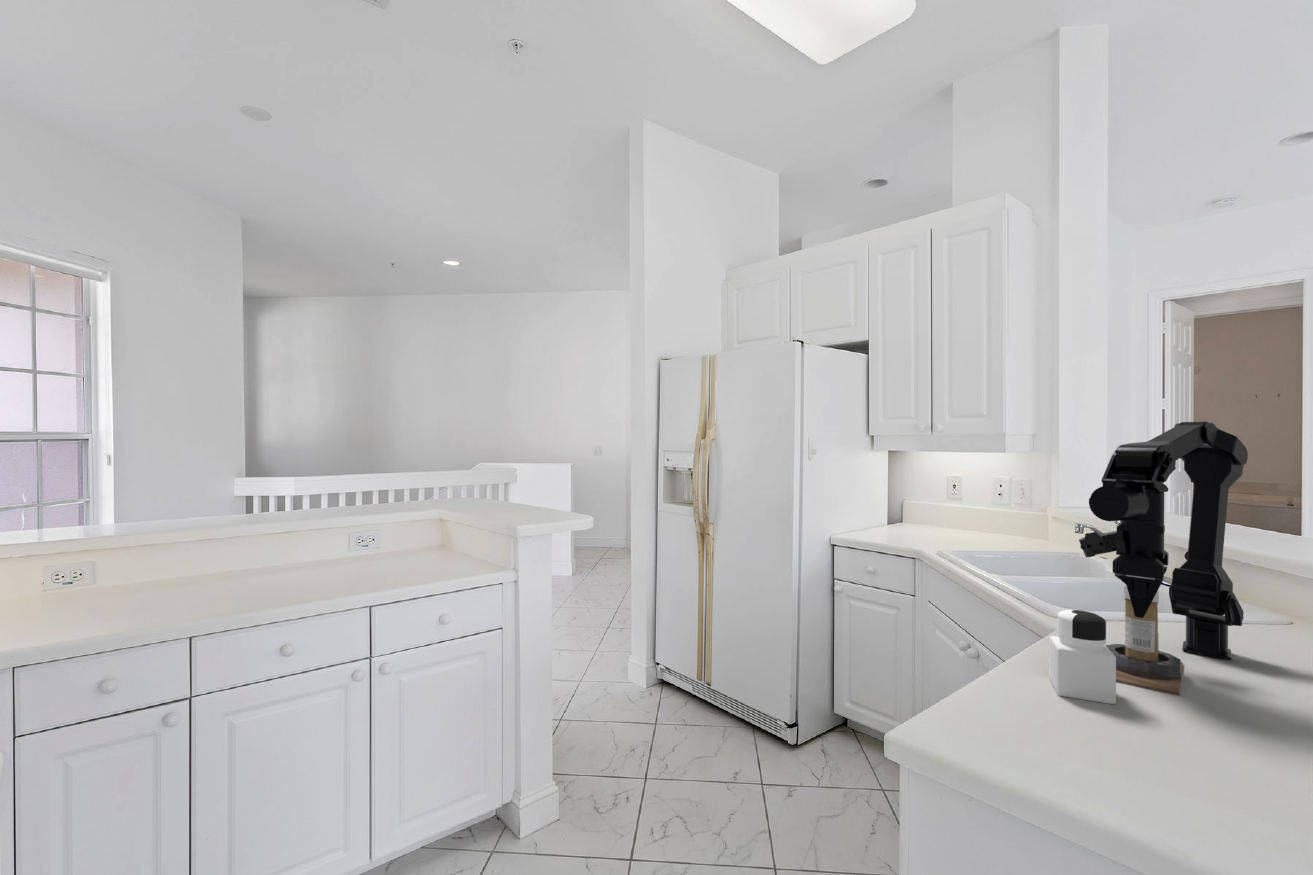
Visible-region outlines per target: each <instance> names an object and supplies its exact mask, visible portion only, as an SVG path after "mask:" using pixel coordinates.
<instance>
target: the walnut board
mask: <svg viewBox="0 0 1313 875" xmlns="http://www.w3.org/2000/svg"><path fill="white" fill-rule="evenodd" d="M1183 667H1184V663H1183V662H1182V661H1181V675H1180V679H1175V680H1158V679H1148V678H1144V677H1139V676H1135V675H1130V674H1127V673H1124V672H1121V671H1118V670H1116V683H1117V682H1118V683H1122V684H1125V685H1130V686H1135V687H1139V688H1142V689H1148V690H1152V691H1156V692H1157V691H1158V692H1161V693H1165V694H1169V695H1173V696H1177V697H1178V696H1180V691H1181V685H1182V684H1181V683H1182V674H1183Z"/></svg>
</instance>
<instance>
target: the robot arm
mask: <svg viewBox="0 0 1313 875" xmlns="http://www.w3.org/2000/svg"><path fill="white" fill-rule="evenodd" d="M1248 458H1249V454H1248V449H1247V447H1246V446H1245V445H1244V443H1243V442H1242V441H1241V440H1240V438H1239V437H1238V436H1236V435H1233V434H1231V433H1228V432H1227V431H1224V430H1221V429H1219V428H1218V427H1217V426H1216V425H1215V423H1213V422H1208V421H1207V420H1206V421H1180V422H1179V423H1176V424H1174V425H1173V427H1172V428H1171V429H1169V430H1167V431H1164V432H1163V433H1160V434H1159V435H1157V436H1155V437H1153V438H1151V439H1150V440H1147V441H1141V442H1140V441H1139V442H1129V443H1125V444H1121V445H1118V446H1117V447H1116V448H1115V450H1114V452H1113V453H1112V454H1111V456H1110V459H1109V462H1108V463H1107V466H1106V469H1105V471H1104V473H1103V476H1102V478H1101V483H1102V486H1099V487H1097V488H1096V489H1095V490H1094V491H1093V492H1092V493H1091V494H1090V497H1089V499H1088V506H1089V509H1090V511H1091V513H1092V514H1093V515H1094V516H1095V517H1097V518H1098V519H1100V520H1102V521H1106V522H1119V523H1118V525H1116V530H1114V531H1110V532H1105V533H1099V532H1098V531H1097V530H1095V531H1093V532H1086V533H1085V534H1084V537H1080V539H1078V542H1079V544H1080V549H1081V550H1082V551H1083V552H1082V553H1084V556H1085V558H1091V557H1092V558H1093V557H1095V556H1098V555H1102V554H1108V553H1113V552H1115V555H1117V557H1115V558H1114V559H1113V560H1112V574H1114V576H1115V578H1117V579H1118V580H1120V581H1121V582H1122V583H1124V584H1125V586H1127V589H1128V592H1129V596H1130V600H1131V604H1132V607H1133V611H1134V615H1135V616H1136V617H1140V618H1143V617H1144V616H1145V614H1146V612H1147V610H1148V608H1149V606H1150V604H1151V602H1152V600H1153V599H1154V597H1155V595H1156V593H1157V591H1158V592H1159V589H1160V587H1161V585H1162V584H1163V581H1164V577H1165V574H1166V572H1167V570H1168V566H1169V552H1168V551H1166V550H1165V532H1166V525H1165V493H1167V492H1169V487H1168V485H1166V484H1164V483H1165V482H1166V483H1167V480H1168V479H1169V476H1170V475H1171V474H1172V473H1173V472H1174V471H1175V470H1176V469H1177V468H1176V464H1177V462H1176V461H1178V460H1179V459H1180V460H1181V461H1183V471H1185V473H1186V475H1187V476H1188V477H1189V479H1190V480H1191V482H1192V483H1193V491H1192V492H1193V493H1192V500H1191V501H1192V504H1191V513H1190V514H1191V515H1190V525H1189V535H1188V545H1187V557H1186V561H1185V562H1184V563H1183V564H1182V565H1180V567H1174V568H1173V571H1172V572H1171V576H1172V577H1171V579H1172V580H1171V583H1170V584H1169V587H1168V595H1169V597H1168V598H1169V600H1170V606H1171V607H1170V608H1171V611H1172V614H1173V615H1179V616H1184V617H1185V640H1184V641H1183V642H1182V651H1183V652H1186V653H1191V654H1197V655H1201V656H1206V657H1207V656H1208V657H1213V658H1218V659H1223V660H1231V661H1232V658H1233V657H1232V651H1231V649H1230V648H1229V626H1230V627H1233V626H1236V627H1241V626H1243V620H1244V619H1245V618H1244V614H1245V612H1244V609H1243V608H1242V606H1241V604H1240V602H1239V600H1238V598H1237V597H1236V594H1235V593H1234V590H1233V589H1234V587H1233V586H1234V585H1233V584H1234V583H1233V580H1232V579H1231V578H1230V577H1229V575H1228V573H1227V572H1226V570H1225V569H1224V567H1223V557H1224V556H1223V555H1224V544H1225V534H1226V525H1227V524H1226V522H1227V510H1228V502H1229V501H1228V500H1229V498H1228V497H1229V489H1230V487H1232V486H1233V485H1234V484H1235V483H1236V482H1237V480H1238V479H1240V478H1241V477H1242V475H1243V473H1244V472H1243V471H1244V465H1246V464H1247V462H1248ZM1238 481H1239V480H1238Z"/></svg>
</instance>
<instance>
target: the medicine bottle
mask: <svg viewBox="0 0 1313 875" xmlns="http://www.w3.org/2000/svg"><path fill="white" fill-rule="evenodd" d="M1056 622H1057V623H1056V624H1057V626H1056V627H1057V630H1056V633H1057V635H1050V636H1049V638H1048V639H1049V641H1048V642H1049V644H1048V646H1049V648H1048V651H1049V652H1048V655H1049V656H1048V659H1049V660H1048V661H1049V662H1048V669H1049V672H1048V673H1049V674H1048V676H1049V677H1048V678H1049V680H1050V682H1051V684H1052V686H1053V688H1054V690H1055V692H1056V694H1057V696H1060V697H1064V698H1065V697H1067V698H1072V699H1078V700H1085V701H1089V702H1096V703H1097V702H1098V703H1102V704H1103V703H1104V704H1108V705H1109V704H1110V705H1115V704H1116V703H1117V697H1116V696H1117V695H1116V694H1117V682H1116V656H1115V655H1114V654H1113V653H1112V652H1111V651H1110V650H1109V649H1108V648H1107V647H1106V645H1107V621H1106V619H1105V618H1103V617H1102V616H1100V615H1099V614H1097V613H1095V612H1089V611H1086V610H1080V609H1079V610H1078V609H1065V610H1061V611H1059V612H1058V613H1057V621H1056Z"/></svg>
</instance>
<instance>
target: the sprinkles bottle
mask: <svg viewBox="0 0 1313 875" xmlns="http://www.w3.org/2000/svg"><path fill="white" fill-rule="evenodd" d="M1159 592H1160V591H1159V590H1158V591H1157V593H1156V595H1155V597H1154V599H1153V600H1152V602H1151V604H1150V606H1149V608H1148V610H1147V612H1146V614H1145V616H1144V617H1143V618H1140V617H1136V616H1135V615H1134V611H1133V607H1132V604H1131V600H1130V596H1129V592H1128V589H1127V586H1126V585H1125V586H1124V587H1123V597H1124V600H1125V601H1124V602H1125V603H1124V605H1125V606H1124V609H1125V610H1124V611H1125V613H1124V645H1125V646H1126V656H1128V657H1131V658H1136V659H1140V660H1145V661H1155V662H1158V651H1160V650H1159V648H1160V647H1159V646H1160V645H1159V642H1160V640H1159V638H1160V636H1159V618H1158V616H1159V615H1158V614H1159V613H1158V611H1159V610H1158V609H1159V608H1158V605H1159V601H1160V594H1159Z"/></svg>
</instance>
